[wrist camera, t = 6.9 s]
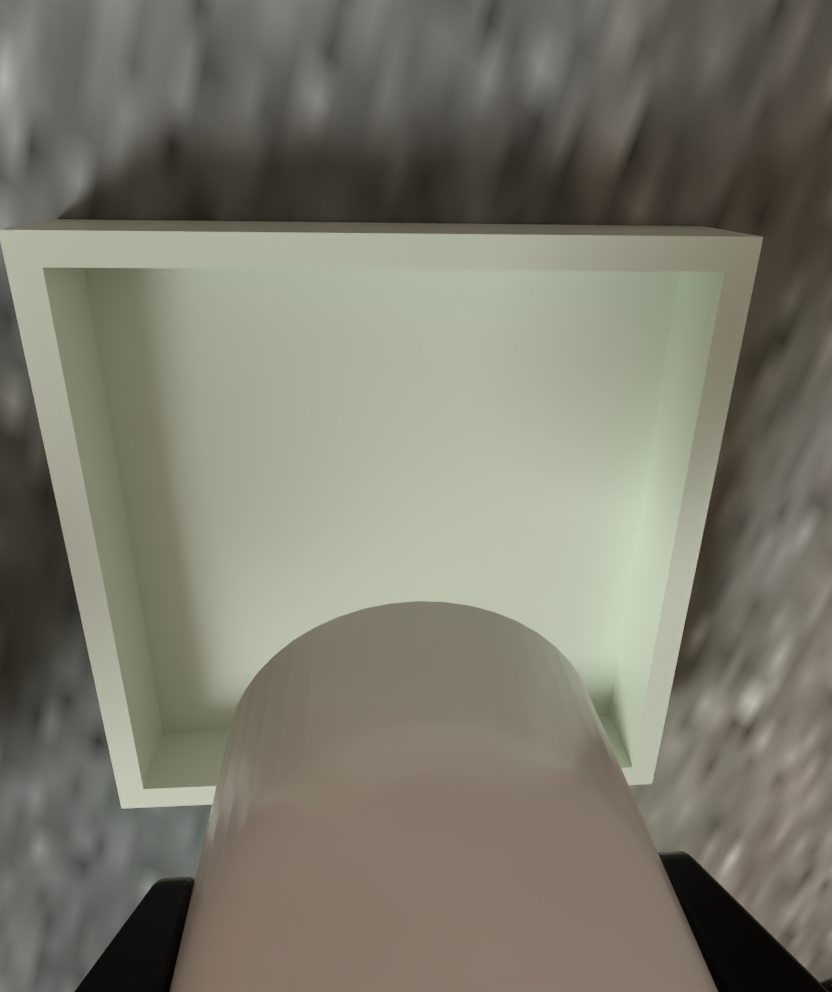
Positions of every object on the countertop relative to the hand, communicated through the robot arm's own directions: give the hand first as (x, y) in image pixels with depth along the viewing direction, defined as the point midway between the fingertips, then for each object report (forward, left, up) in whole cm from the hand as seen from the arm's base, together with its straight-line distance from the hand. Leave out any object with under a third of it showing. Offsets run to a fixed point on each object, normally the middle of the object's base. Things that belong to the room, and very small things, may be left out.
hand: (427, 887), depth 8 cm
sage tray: (0, 0, -10) cm, 10 cm away
